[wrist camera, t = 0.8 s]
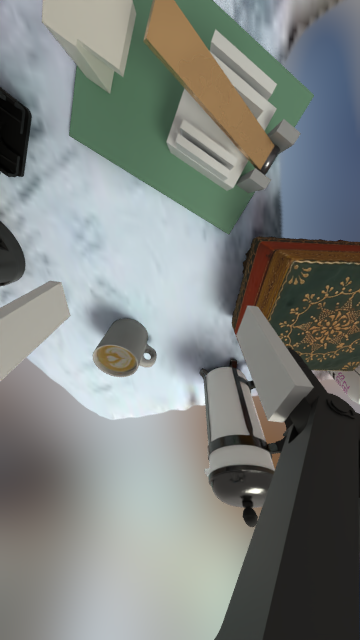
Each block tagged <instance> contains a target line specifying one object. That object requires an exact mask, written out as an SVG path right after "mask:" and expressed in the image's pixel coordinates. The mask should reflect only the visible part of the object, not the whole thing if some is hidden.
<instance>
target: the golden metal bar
mask: <svg viewBox="0 0 360 640" xmlns="http://www.w3.org/2000/svg"><path fill="white" fill-rule="evenodd" d="M143 42H144V43H145V44H146V45H147V46H148V48H149V49H150V50H151V51H152V52H153V53H154V54H155V55H156V57H157V58H158V59H159V60H160V61H161V62H162V63H163V64H164V66H165V67H166V68H167V69H168V70H169V71H170V72H171V73H172V75H173V76H174V77H175V78H176V79H177V80H178V81H179V82H180V84H181V85H182V86H183V87H184V88H185V89H186V90H187V92H188V93H189V94H190V95H191V96H192V97H193V98H194V99H195V101H196V102H197V103H198V104H199V105H200V106H201V107H202V108H203V110H204V111H205V112H206V113H207V114H208V115H209V116H210V117H211V119H212V120H213V121H214V122H215V123H216V124H217V125H218V127H219V128H220V129H221V130H222V131H223V132H224V133H225V134H226V136H227V137H228V138H229V139H230V140H231V141H232V142H233V143H234V145H235V146H236V147H237V148H238V149H239V150H240V151H241V152H242V154H243V155H244V156H245V157H246V158H247V159H248V160H249V161H250V163H251V164H252V165H253V166H254V167H255V168H256V169H257V170H258V171H260V172H261V173H262V174H264V175H266V173H267V171H268V170H269V168H270V167H271V165H272V163H273V162H274V160H275V158H276V157H277V155H278V153H279V152H280V148H279V147H278V146H277V145H275V144H273V143H272V141H271V140H270V138H269V137H268V135H267V134H266V133H265V131H264V130H263V128H262V127H261V125H260V124H259V122H258V121H257V119H256V118H255V117H254V115H253V114H252V112H251V111H250V109H249V108H248V106H247V105H246V104H245V102H244V101H243V99H242V98H241V96H240V95H239V93H238V92H237V90H236V89H235V88H234V86H233V85H232V83H231V82H230V80H229V79H228V77H227V76H226V75H225V73H224V72H223V70H222V69H221V67H220V66H219V64H218V63H217V61H216V60H215V59H214V57H213V56H212V54H211V53H210V51H209V50H208V48H207V47H206V46H205V44H204V43H203V41H202V40H201V38H200V37H199V35H198V34H197V33H196V31H195V30H194V28H193V27H192V25H191V24H190V22H189V21H188V19H187V18H186V17H185V15H184V14H183V12H182V11H181V9H180V8H179V6H178V5H177V4H176V2H175V1H174V0H153V1H152V6H151V10H150V14H149V19H148V23H147V27H146V32H145V36H144V40H143Z"/></svg>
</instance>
